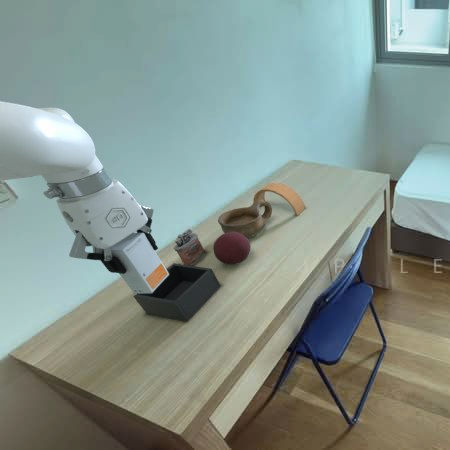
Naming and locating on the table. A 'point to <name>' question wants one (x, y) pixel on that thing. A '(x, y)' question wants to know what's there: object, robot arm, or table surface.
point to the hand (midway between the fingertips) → (136, 259)
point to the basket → (180, 292)
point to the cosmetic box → (139, 263)
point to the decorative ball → (232, 248)
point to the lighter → (189, 248)
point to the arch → (283, 192)
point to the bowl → (246, 219)
